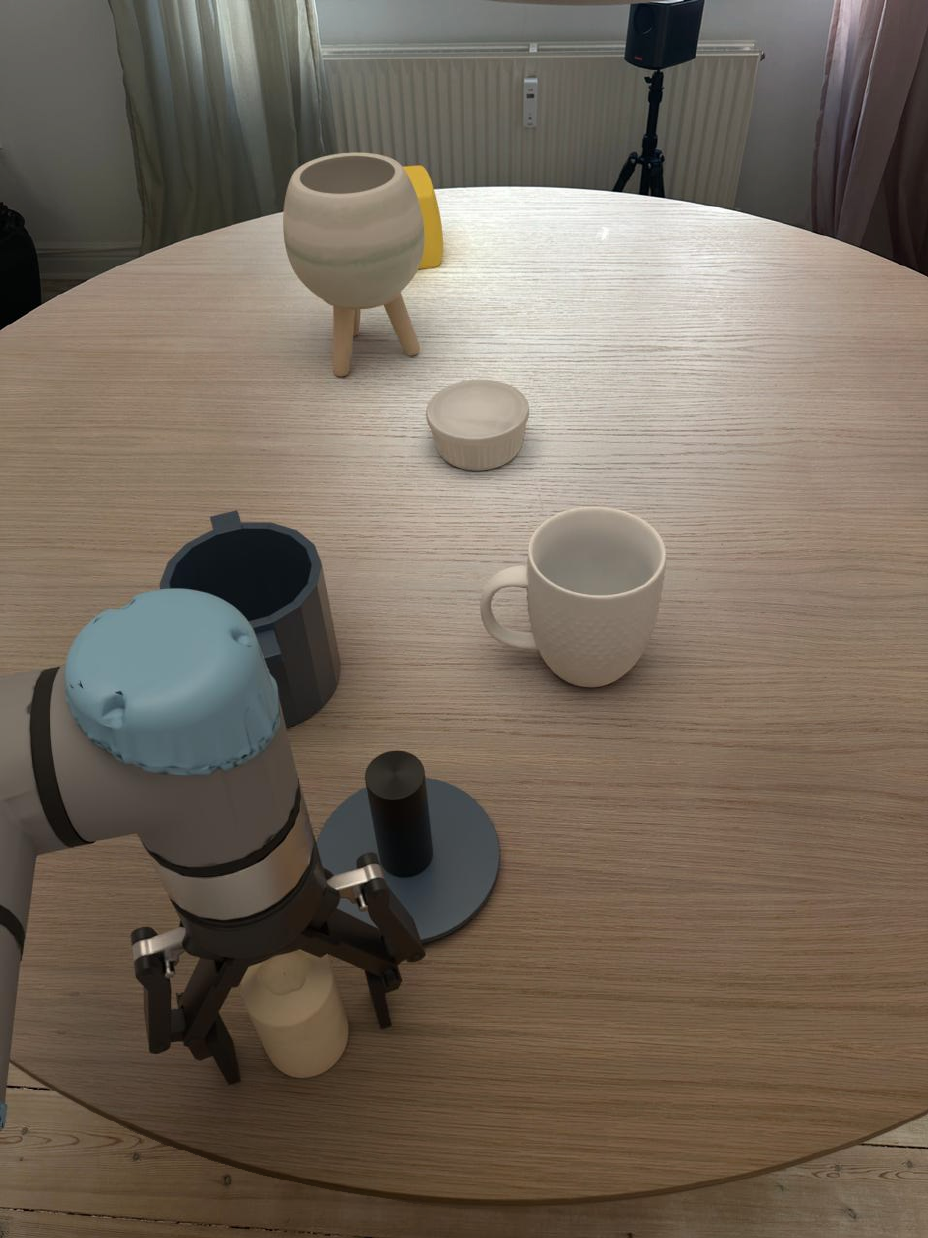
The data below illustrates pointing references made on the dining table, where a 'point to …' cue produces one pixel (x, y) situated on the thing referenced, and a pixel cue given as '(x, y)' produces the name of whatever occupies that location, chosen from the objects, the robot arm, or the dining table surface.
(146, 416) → the dining table surface
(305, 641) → the pot
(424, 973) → the dining table surface
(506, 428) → the ramekin
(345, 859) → the lid
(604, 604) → the mug
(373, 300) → the planter
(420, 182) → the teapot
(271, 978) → the candle
